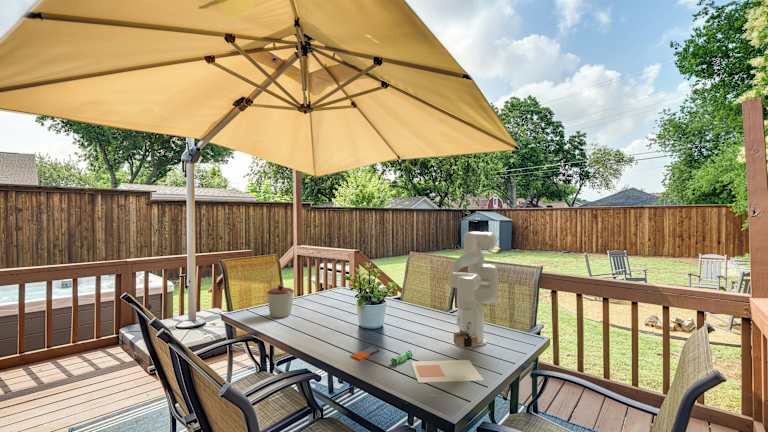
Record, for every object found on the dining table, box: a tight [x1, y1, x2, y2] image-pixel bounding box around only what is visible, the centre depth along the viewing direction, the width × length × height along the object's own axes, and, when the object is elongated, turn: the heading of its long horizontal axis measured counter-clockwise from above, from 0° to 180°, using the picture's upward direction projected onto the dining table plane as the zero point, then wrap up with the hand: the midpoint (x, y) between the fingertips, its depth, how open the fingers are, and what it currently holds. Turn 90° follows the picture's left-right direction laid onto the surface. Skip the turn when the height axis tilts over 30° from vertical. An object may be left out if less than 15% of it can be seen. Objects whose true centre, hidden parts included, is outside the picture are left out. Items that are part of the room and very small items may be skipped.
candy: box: [390, 350, 413, 366], centre depth 166 cm, size 12×3×4 cm
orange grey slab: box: [350, 346, 380, 362], centre depth 173 cm, size 6×1×15 cm
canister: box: [266, 284, 295, 319], centre depth 235 cm, size 18×18×21 cm
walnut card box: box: [453, 331, 479, 348], centre depth 156 cm, size 6×9×4 cm, turn 95°
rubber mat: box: [410, 359, 485, 384], centre depth 155 cm, size 20×28×1 cm
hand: (465, 343), depth 157 cm, fingers closed on walnut card box, 6 cm apart
